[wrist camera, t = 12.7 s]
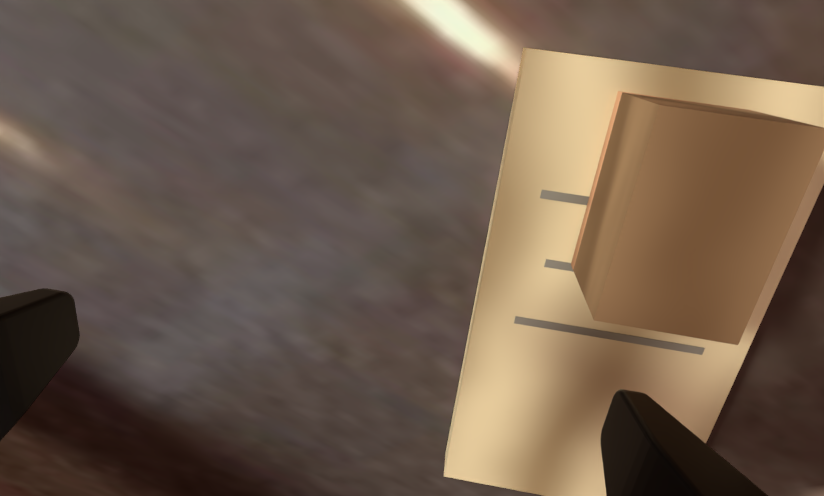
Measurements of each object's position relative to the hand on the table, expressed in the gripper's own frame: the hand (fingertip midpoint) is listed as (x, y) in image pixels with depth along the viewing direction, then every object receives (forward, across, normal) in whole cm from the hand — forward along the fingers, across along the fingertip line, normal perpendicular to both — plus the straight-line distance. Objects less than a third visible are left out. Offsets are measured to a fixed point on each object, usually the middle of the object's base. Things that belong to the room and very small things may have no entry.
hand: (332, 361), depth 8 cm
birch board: (+12, -8, +4) cm, 15 cm away
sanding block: (+10, -8, -1) cm, 13 cm away
